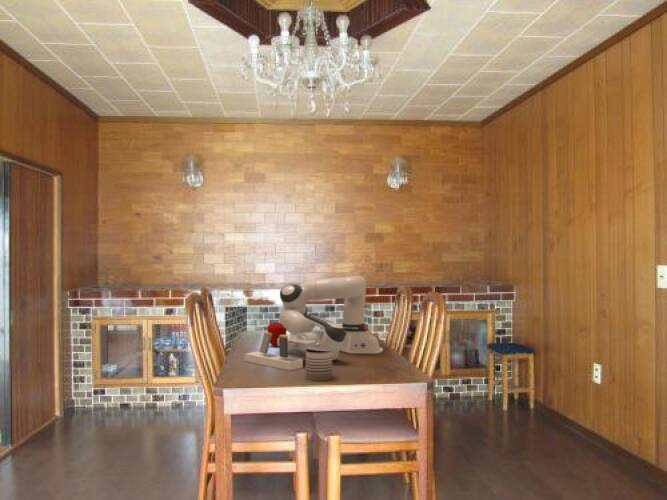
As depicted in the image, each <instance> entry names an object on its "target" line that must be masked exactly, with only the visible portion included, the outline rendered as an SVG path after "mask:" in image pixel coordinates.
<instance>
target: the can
mask: <svg viewBox="0 0 667 500" xmlns="http://www.w3.org/2000/svg"><path fill="white" fill-rule="evenodd" d="M306 349H307V350H306V352H305V378H306V379H309V380H314V381H322V380H329V379H333V361H332V349H329V348H321V347H307V348H306Z"/></svg>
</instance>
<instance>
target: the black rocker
mask: <svg viewBox="0 0 667 500" xmlns="http://www.w3.org/2000/svg"><path fill="white" fill-rule="evenodd" d="M288 336H289V335H287V334H286V335H279V346H278V347H279V355H280V357H284V358H287V357H289V355H288V354H289V352H288V351H289V350H288V349H289V348H288Z"/></svg>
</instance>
